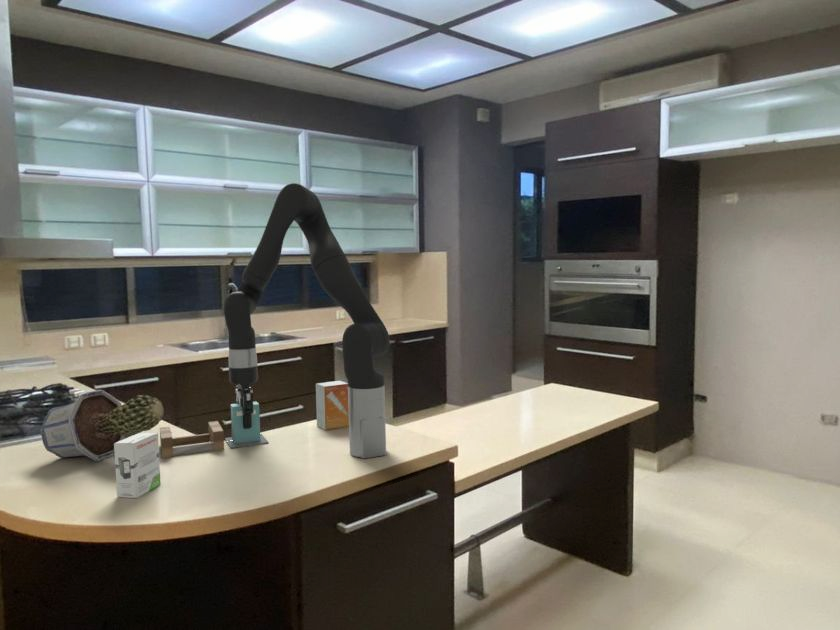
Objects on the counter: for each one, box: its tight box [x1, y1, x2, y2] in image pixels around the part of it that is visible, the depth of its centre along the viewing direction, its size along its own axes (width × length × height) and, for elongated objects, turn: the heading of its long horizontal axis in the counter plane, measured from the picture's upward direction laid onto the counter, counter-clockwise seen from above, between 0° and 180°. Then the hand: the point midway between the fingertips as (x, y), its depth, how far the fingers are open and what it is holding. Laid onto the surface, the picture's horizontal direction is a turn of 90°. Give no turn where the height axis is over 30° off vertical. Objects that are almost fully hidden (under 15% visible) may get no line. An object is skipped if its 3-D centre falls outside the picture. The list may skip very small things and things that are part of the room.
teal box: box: [230, 401, 261, 444], centre depth 169 cm, size 4×7×10 cm, turn 115°
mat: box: [224, 433, 269, 449], centre depth 169 cm, size 10×10×1 cm
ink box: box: [114, 432, 161, 499], centre depth 132 cm, size 9×5×12 cm, turn 169°
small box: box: [315, 380, 349, 431], centre depth 183 cm, size 8×6×13 cm
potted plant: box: [39, 389, 165, 462], centre depth 156 cm, size 18×18×30 cm
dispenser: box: [159, 420, 225, 459], centre depth 164 cm, size 12×15×5 cm
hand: (245, 425), depth 169 cm, fingers open, 5 cm apart
